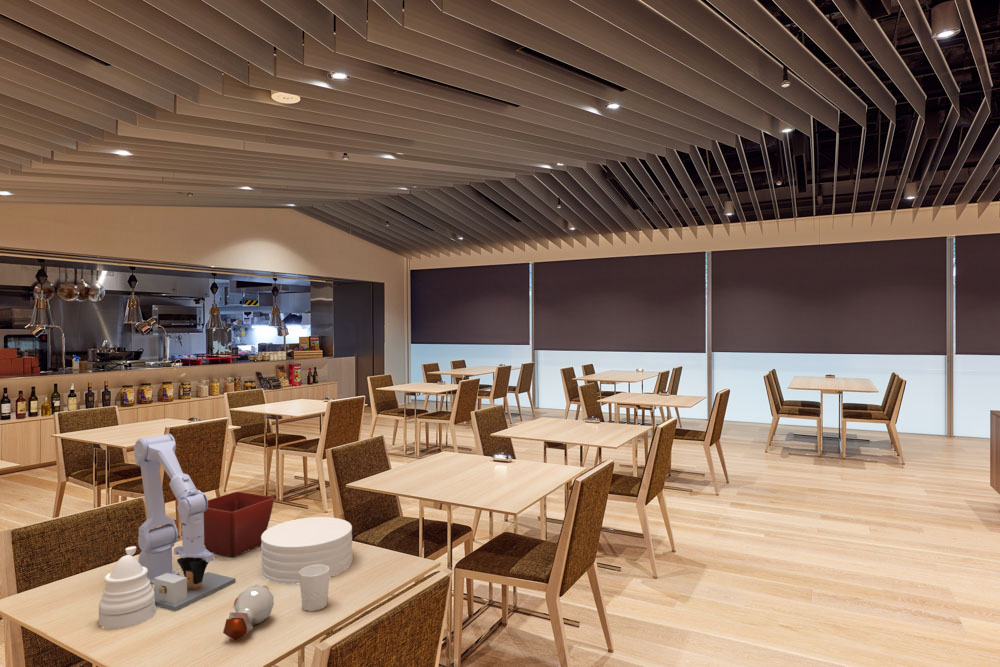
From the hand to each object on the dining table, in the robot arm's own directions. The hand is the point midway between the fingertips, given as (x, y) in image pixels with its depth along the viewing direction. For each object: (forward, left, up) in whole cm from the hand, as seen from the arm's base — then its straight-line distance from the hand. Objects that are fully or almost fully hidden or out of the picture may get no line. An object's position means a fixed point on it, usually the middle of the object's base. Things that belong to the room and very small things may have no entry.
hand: (194, 581), depth 176 cm
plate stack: (+17, +28, -3) cm, 33 cm away
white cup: (+39, +8, -3) cm, 40 cm away
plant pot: (-17, +30, -3) cm, 34 cm away
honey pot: (-3, -18, -3) cm, 19 cm away
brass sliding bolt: (0, -4, -1) cm, 5 cm away
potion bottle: (+32, -9, -3) cm, 33 cm away
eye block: (0, 0, -3) cm, 3 cm away
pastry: (+22, +2, -3) cm, 22 cm away
